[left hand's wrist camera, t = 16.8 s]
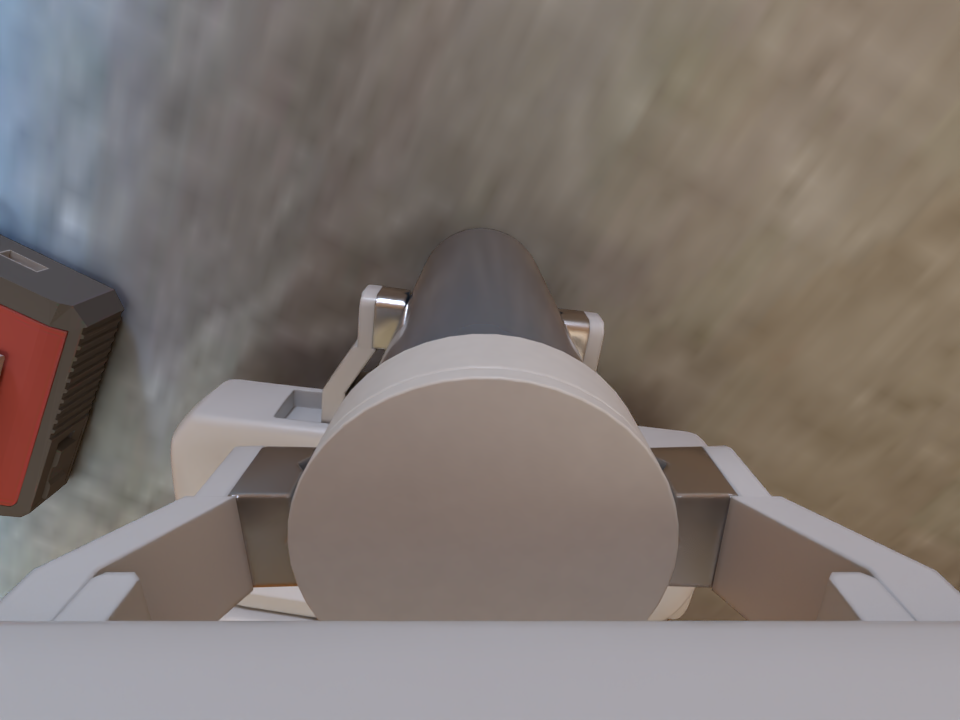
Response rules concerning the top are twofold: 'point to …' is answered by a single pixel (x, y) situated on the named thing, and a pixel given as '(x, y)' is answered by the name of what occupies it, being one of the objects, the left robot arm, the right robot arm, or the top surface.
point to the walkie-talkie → (46, 370)
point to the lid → (483, 494)
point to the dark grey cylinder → (480, 295)
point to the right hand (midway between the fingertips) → (483, 302)
